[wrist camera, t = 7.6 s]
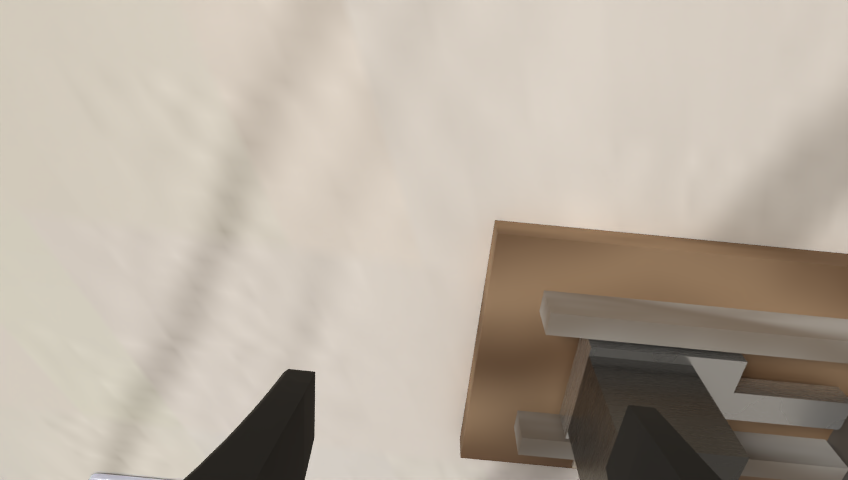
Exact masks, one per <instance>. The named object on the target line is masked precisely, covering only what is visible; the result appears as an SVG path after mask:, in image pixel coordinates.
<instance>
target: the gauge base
mask: <svg viewBox="0 0 848 480" xmlns="http://www.w3.org/2000/svg"><path fill="white" fill-rule="evenodd" d="M580 338H584V339H595V340H605V341H616V342H626V343H637V344H647V345H658V346H668V347H679V348H689V349H700V350H710V351H721V352H731V353H741V354H742V355H743V357H744V358H745V359H746V361H747V365H746V367H745V369H744V371H743V373H742V376H741V378H749V379H759V380H770V381H780V382H791V383H801V384H812V385H822V386H833V387H839V388H840V389H841V391H842V392H843V393H844V394H845V395H846V396H847V397H848V254H842V253H831V252H821V251H810V250H800V249H790V248H779V247H769V246H758V245H748V244H737V243H727V242H717V241H706V240H696V239H685V238H675V237H664V236H654V235H643V234H633V233H623V232H612V231H602V230H591V229H581V228H570V227H560V226H550V225H539V224H529V223H518V222H508V221H497V220H495V224H494V230H493V236H492V242H491V249H490V255H489V261H488V267H487V274H486V280H485V286H484V292H483V299H482V305H481V311H480V317H479V323H478V330H477V336H476V342H475V348H474V355H473V361H472V367H471V373H470V380H469V386H468V392H467V398H466V404H465V411H464V417H463V423H462V429H461V436H460V454H461V458H470V459H480V460H491V461H502V462H512V463H523V464H533V465H544V466H554V467H565V468H572V469H577V466H576V462H575V459H574V455H573V451H572V447H571V443H570V439H566V438H565V434H564V430H563V426H562V422H561V419H560V415H559V414H560V410H561V406H562V402H563V399H564V395H565V391H566V387H567V384H568V380H569V376H570V372H571V369H572V365H573V361H574V357H575V354H576V350H577V346H578V342H579V339H580ZM726 421H727V422H728V424H729V425H730V427H731V429H732V430H733V432H734V433H735V435H736V437H737V438H738V440H739V442H740V443H741V445H742V446H743V448H744V450H745V451H746V453H747V454H748V456H749V460H748V462H747V464H746V466H745V468H744V470H743V472H742V474H741V476H740V478H739V480H848V416H847V418H846V419H845V421H844V423H843V424H842V426H841V428H840V430H835V429H824V428H813V427H803V426H792V425H782V424H771V423H761V422H750V421H740V420H729V419H726Z"/></svg>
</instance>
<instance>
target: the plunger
mask: <svg viewBox="0 0 848 480" xmlns="http://www.w3.org/2000/svg"><path fill="white" fill-rule="evenodd" d="M746 365H747V361H746V359H745V358H744V357H743V355H742V354H741V353H731V352H721V351H710V350H700V349H689V348H679V347H668V346H658V345H647V344H637V343H626V342H616V341H605V340H595V339H584V338H580V339H579V342H578V346H577V350H576V354H575V357H574V361H573V365H572V369H571V372H570V376H569V380H568V384H567V387H566V391H565V395H564V399H563V402H562V406H561V410H560V414H559V415H560V419H561V422H562V426H563V430H564V434H565V438H566V439H570V443H571V447H572V451H573V455H574V459H575V462H576V466H577V470H578V474H579V478H580V480H608V478H607V472H606V466H607V463H608V460H609V457H610V454H611V452H612V449H613V446H614V443H615V440H616V438H617V435H618V432H619V429H620V426H621V424H622V421H623V418H624V415H625V413H626V410H627V407H628V405H634V406H643V407H653V408H655V409H656V410H657V411H658V412H659V413H660V414H661V415H662V416H663V417H664V418H665V419H666V420H667V421H668V422H669V423H670V424H671V425H672V427H673V428H674V429H675V430H676V431H677V432H678V433H679V434H680V435H681V436H682V437H683V439H684V440H685V441H686V442H687V443H688V444H689V445H690V446H691V447H692V448H693V449H694V451H695V452H696V453H697V454H698V455H699V456H700V457H701V458H702V459H703V460H704V461H705V462H706V463H707V465H708V466H709V467H710V468H711V469H712V470H713V471H714V472H715V473H716V474H717V475H718V476H719V477H720V478H721V479H722V480H739V478H740V476H741V474H742V472H743V470H744V468H745V466H746V464H747V462H748V460H749V456H748V454H747V453H746V451H745V450H744V448H743V446H742V445H741V443H740V442H739V440H738V438H737V437H736V435H735V433H734V432H733V430H732V429H731V427H730V425H729V424H728V422H727V421H726V419H729V420H740V421H750V422H761V423H771V424H782V425H792V426H803V427H813V428H824V429H835V430H840V428H841V426H842V424H843V423H844V421H845V419H846V418H847V416H848V397H847V396H846V395H845V394H844V393H843V392H842V391H841V389H840V388H839V387H833V386H822V385H812V384H801V383H791V382H780V381H770V380H759V379H749V378H741V376H742V373H743V371H744V369H745V367H746Z"/></svg>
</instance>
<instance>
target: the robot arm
mask: <svg viewBox="0 0 848 480" xmlns="http://www.w3.org/2000/svg"><path fill="white" fill-rule="evenodd" d="M314 422H315V372H311V371H302V370H292V369H288V370H287V371H285V372H284V373H283V374H282V375H281V377H280V378H279V379H278V381H277V382H276V383H275V384H274V386H273V387H272V388H271V389H270V391H269V392H268V393H267V394H266V395H265V397H264V398H263V399H262V400H261V401H260V402H259V404H258V405H257V406H256V407H255V408H254V409H253V410H252V412H251V413H250V414H249V415H248V416H247V417H246V418H245V419H244V420H243V421H242V422H241V424H240V425H239V426H238V427H237V428H236V429H235V430H234V431H233V432H232V433H231V434H230V435H229V436H228V437H227V438H226V440H225V441H224V442H223V443H222V444H220V445H219V446H218V447H217V448H216V449H215V450H214V451H213V452H212V453H211V454H210V455H209V456H208V457H207V458H206V459H205V460H204V461H203V462H202V463H201V464H200V465H199V466H198V467H197V468H196V469H195V470H194V471H192V472H191V473H190V474H189V475H188V476H187V477H186V478H185V479H184V480H305V476H306V471H307V467H308V463H309V459H310V454H311V450H312V445H313V441H314ZM606 472H607V478H608V480H722V479H721V478H720V477H719V476H718V475H717V474H716V473H715V472H714V471H713V470H712V469H711V468H710V467H709V466H708V465H707V463H706V462H705V461H704V460H703V459H702V458H701V457H700V456H699V455H698V454H697V453H696V452H695V451H694V449H693V448H692V447H691V446H690V445H689V444H688V443H687V442H686V441H685V440H684V439H683V437H682V436H681V435H680V434H679V433H678V432H677V431H676V430H675V429H674V428H673V427H672V425H671V424H670V423H669V422H668V421H667V420H666V419H665V418H664V417H663V416H662V415H661V414H660V413H659V412H658V411H657V410H656V409H655V408H653V407H643V406H634V405H628V407H627V410H626V413H625V415H624V418H623V421H622V424H621V426H620V429H619V432H618V435H617V438H616V440H615V443H614V446H613V449H612V452H611V454H610V457H609V460H608V463H607V466H606ZM89 480H165V479H155V478H144V477H133V476H123V475H112V474H102V473H95V474H92V475H91V477H90V478H89Z"/></svg>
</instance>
